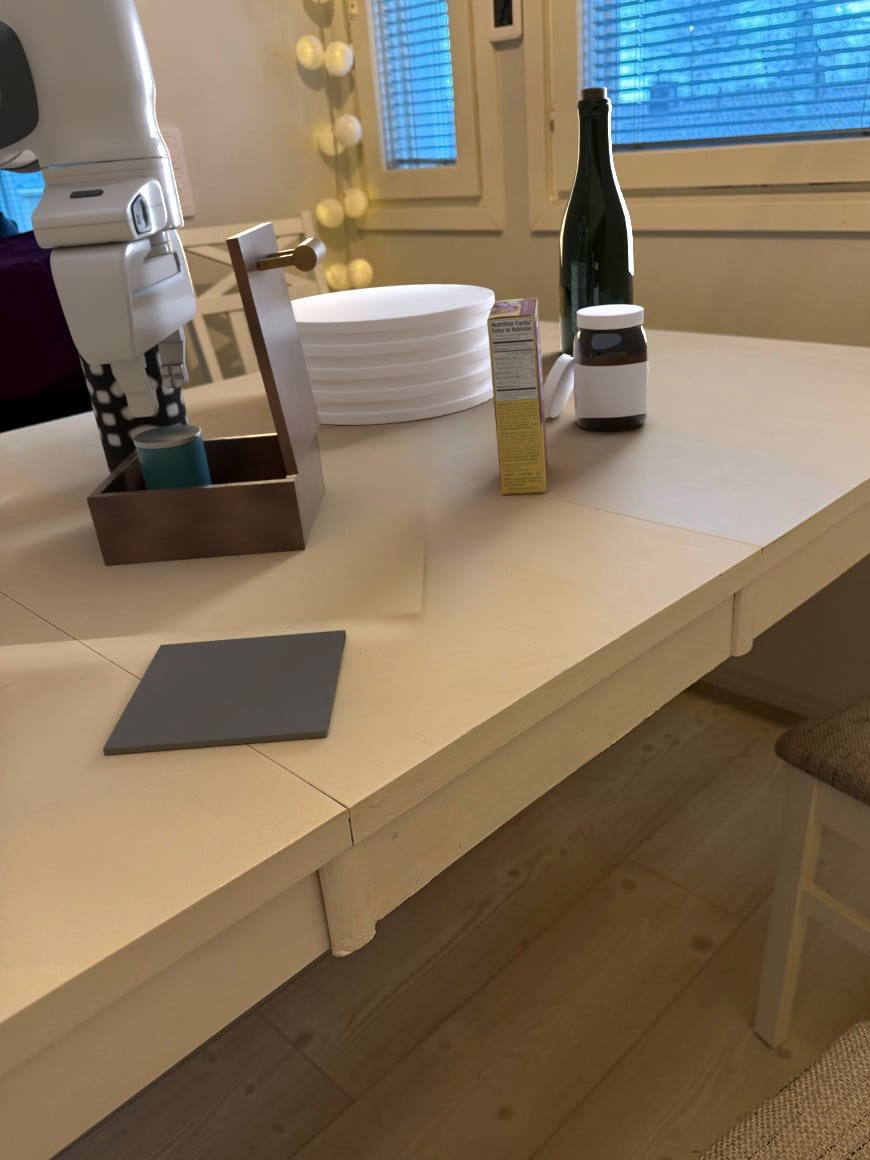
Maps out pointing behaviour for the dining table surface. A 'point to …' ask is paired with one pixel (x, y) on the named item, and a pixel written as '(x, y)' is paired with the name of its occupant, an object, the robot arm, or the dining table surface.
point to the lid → (278, 333)
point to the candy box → (518, 395)
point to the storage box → (211, 506)
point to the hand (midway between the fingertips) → (162, 399)
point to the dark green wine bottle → (593, 224)
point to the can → (172, 457)
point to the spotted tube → (114, 409)
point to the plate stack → (396, 351)
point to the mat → (232, 693)
